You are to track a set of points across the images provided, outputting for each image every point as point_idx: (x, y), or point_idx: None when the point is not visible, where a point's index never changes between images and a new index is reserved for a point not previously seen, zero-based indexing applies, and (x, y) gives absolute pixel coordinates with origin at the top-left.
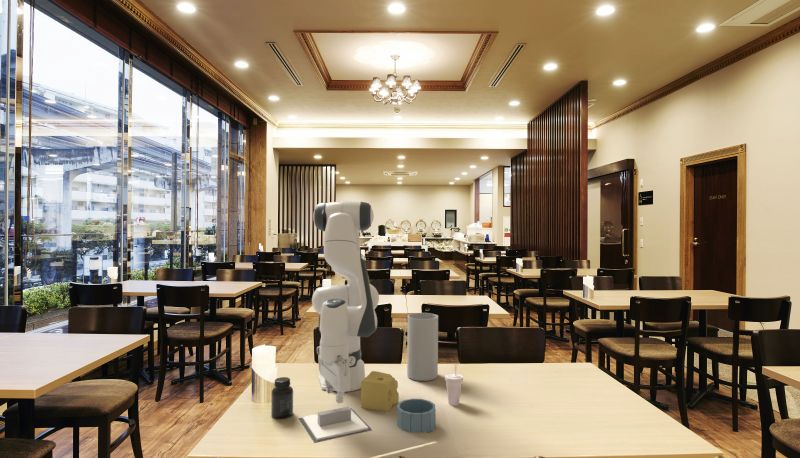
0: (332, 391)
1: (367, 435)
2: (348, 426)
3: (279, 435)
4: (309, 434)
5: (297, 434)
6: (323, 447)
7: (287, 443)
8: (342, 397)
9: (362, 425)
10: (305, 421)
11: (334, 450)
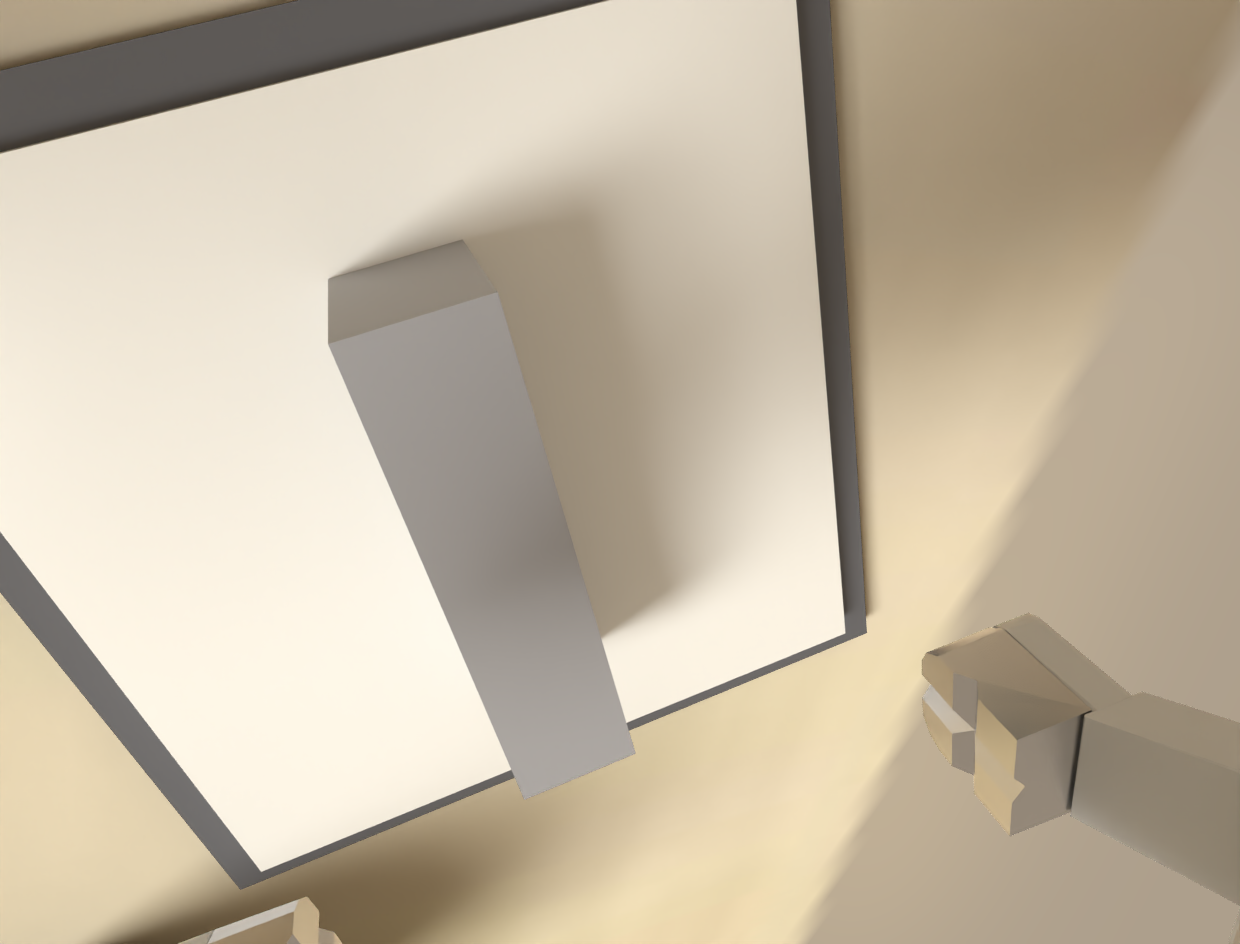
0: (299, 923)
1: (883, 7)
2: (669, 294)
3: (596, 904)
4: (688, 701)
5: (614, 789)
6: (934, 541)
7: (756, 813)
8: (1113, 691)
9: (697, 51)
10: (407, 810)
11: (1025, 443)
